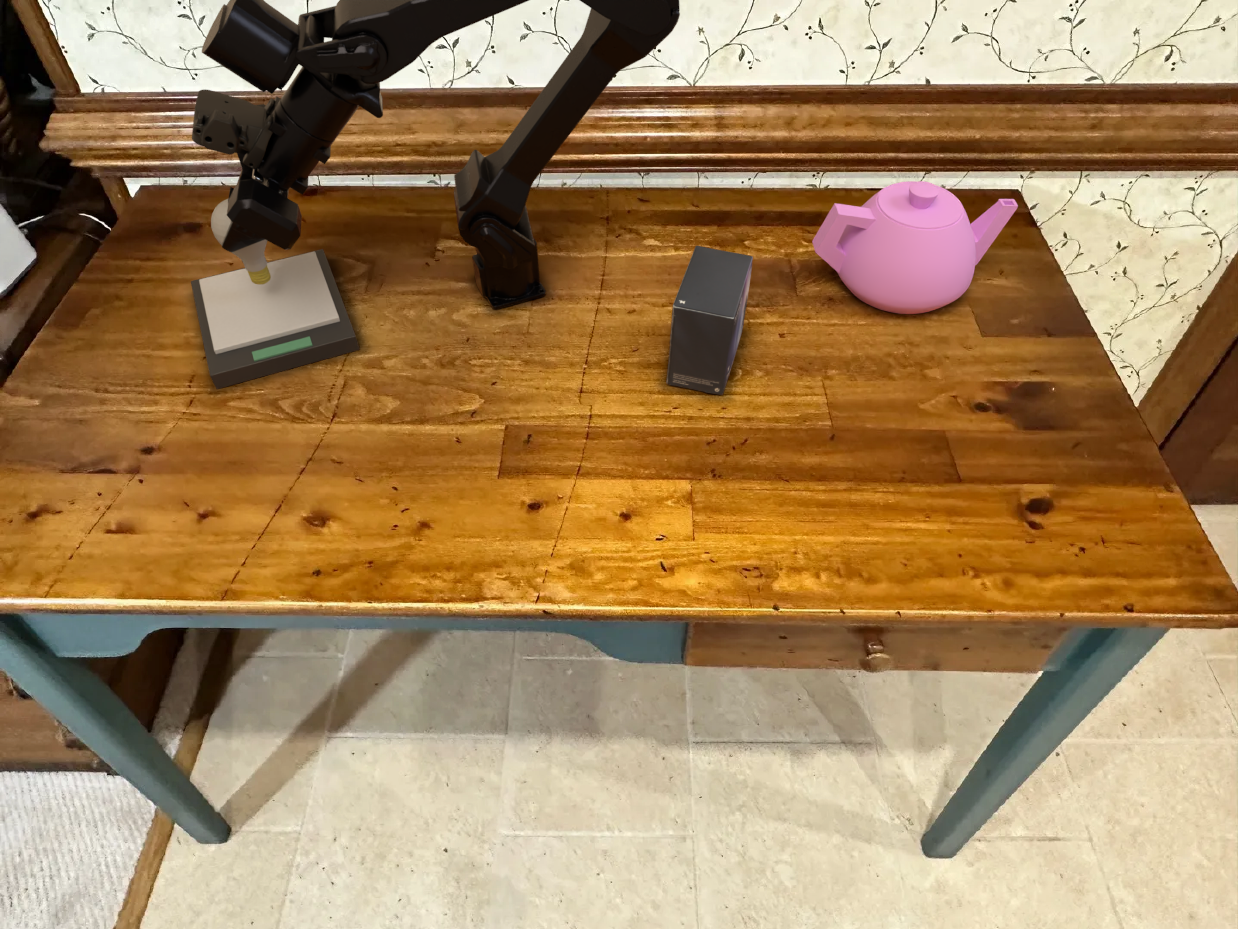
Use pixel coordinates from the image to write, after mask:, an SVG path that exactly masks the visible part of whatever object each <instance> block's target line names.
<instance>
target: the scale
mask: <svg viewBox="0 0 1238 929" xmlns="http://www.w3.org/2000/svg"><path fill="white" fill-rule="evenodd" d="M267 267H268V270H269V273H270V275H271V279H270V280H269V281H268V282H267V283H265V284H261V285H260V284H255V283H253V282H252V281H251V278H250V276H249V273H248V271H247V270H246V269H245V267H243V268H238V269H234V270H230V271H227V272H221V273H218V274H214V275H210V276H206V277H202V278H198V279H193V280H190V286H191V290H192V295H193V300H194V305H195V311H196V316H197V320H198V325H199V329H200V334H201V340H202V344H203V349H204V353H205V354H204V355H205V358H206V364H207V369H208V373H209V377H210V379H211V381H212V383H213V386H214V387H215V389H216V390H220V389H223V388H226V387H230V386H234V385H237V384H241V383H244V382H248V381H253V380H257V379H260V378H262V377H263V378H264V377H266V376H270V375H273V374H277V373H281V372H285V371H288V370H291V369H292V370H293V369H296V368H299V367H303V366H306V365H310V364H313V363H317V362H321V361H325V360H328V359H331V358H335V357H339V356H342V355H346V354H350V353H353V352H356V351H360V345H359V341H358V338H357V335H356V332H355V330H354V327H353V324H352V322H351V319H350V316H349V314H348V312H347V309H346V306H345V304H344V301H343V298H342V295H341V292H340V291H339V290H340V289H339V288H338V284H337V282H336V280H335V277H334V274H333V271H332V269H331V266H330V263H329V261H328V258H327V255H326V253H325V250H324V248H321V249H317V250H313V251H308V252H303V253H300V254H296V255H292V256H288V257H284V258H279V259H275V260H271V261H267Z"/></svg>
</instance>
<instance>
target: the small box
mask: <svg viewBox="0 0 1238 929" xmlns="http://www.w3.org/2000/svg"><path fill="white" fill-rule="evenodd" d="M689 259H690V260H689V262H688V265H687V268H686V270H685V272H684V275H683V276H682V280H681V283H680V285H679V288H678V291H677V294H676V295H675V296H676V297H675V299H674V300H673V304H672V308H671V321H670V323H671V324H670V334H669V335H670V336H669V350H668V362H667V371H666V380H665V383H666V384H667V385H669V386H672V387H678V388H684V389H688V390H689V389H690V390H694V391H699V392H703V393H706V394H707V393H708V394H711V395H717V396H723V395H724V392H725V391H726V390H725V389H726V387H727V383H728V380H729V377H730V373H731V370H732V367H733V365H734V361H735V357H736V355H737V351H738V348H739V345H740V340H741V336H742V333H743V329H744V324H745V318H746V317H745V316H746V312H747V305H748V298H749V291H750V285H751V284H750V283H751V278H752V269H753V259H754V256H753V255H749V254H745V253H744V254H743V253H738V252H733V251H727V250H722V249H717V248H711V247H706V246H702V245H695V247H694V250H693V252H692V254H691V257H690V258H689Z"/></svg>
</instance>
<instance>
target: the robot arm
mask: <svg viewBox="0 0 1238 929" xmlns="http://www.w3.org/2000/svg"><path fill="white" fill-rule="evenodd" d="M529 1H530V0H338V1H337V3H336V5H333V6H329V7H325V8H321V9H316V10H313V11H309V12H305V13H302V14H300V15H299V16H298V23H295V22H294V21H293V20H291V19H290V18H289V17H288V16H286V15H284V14H283V13H282V12H280V11H279V10H278V9H276V8H275V7H273V6H272V5H271V4H269V3H268V2H267V1H265V0H229V1H227V3H226V4H225V3H224V4H223V5H222V6H221V8H220V10H219V11H218V14H217V15H216V16H215V19H214V21H213V22H212V25H211V26H210V29H209V31H208V32H207V35H206V37H205V38H204V39H205V40H204V42H203V44H202V47H201V54H203V55H204V56H206V57H208V58H210V59H211V60H213V61H214V62H215V63H217V64H219V65H220V66H222V67H223V68H225V69H226V70H228V71H230V72H231V73H232V74H234V75H236V76H237V77H239V78H241V79H242V80H244V81H245V82H247V83H248V84H249V85H251V86H253V87H254V88H256V89H257V90H259V91H261V92H263V93H265V92H268V93H270V94H271V95H273V94H274V92H275V91H277V89H278V90H280V91H281V90H282V89H284V88H285V87H286V85H287V84H288V82H289V81H290V80H291V78H292V76H293V74H294V73H295V71H296V69H297V68H298V66H301V68H300V70H299V71H298V73H296V75H295V77H294V79H292V81H291V83H290V84H289V86H288V87H287V89H286V90H285V91H284V93H283V95H282V96H281V98H280V97H278V96H275V98H272V97H271V98H269V100H268V102H267V103H266V104H264V103H260V104H253V103H251V102H250V101H249V100H245V99H242V98H239V97H235V96H233V95H228V94H226V93H221V92H219V91H215V90H212V89H200V90H198V93H197V96H196V99H195V105H194V112H193V122H192V132H191V140H192V141H193V143H195V144H196V145H197V146H198V145H199V146H201V147H204V148H205V149H207V150H210V151H213V152H218V153H222V154H225V155H233V154H237V158H238V160H239V164H240V166H241V170H240V173H239V177H238V180H237V182H236V185H235V186H234V188H233V187H232V186H230V187H229V193H228V198H227V199H228V209H227V216H228V217H229V219H230V220H231V223H230V226H229V228H228V231H227V233H226V236H225V238H224V241H223V244H222V245H221V248H222V249H223V250H225V251H227V252H229V253H231V252H235V251H237V250H240V249H242V248H245V247H247V246H250V245H252V244H255V243H257V242H260V241H263V240H267V242H269V243H271V244H272V245H275V246H276V247H279V248H280V249H282V250H283V251H284V250H285V251H286V250H291V249H292V248H293V247H294V245H295V244H296V243H297V241H298V240H299V239H300V238H301V233H302V219H303V215H302V213H301V209H300V207H299V204H298V203H297V202H295V201H293V200H291V199H290V198H289V191H290V189H291V190H293V191H295V192H297V193H298V194H300V195H304V193H305V192H306V191H307V190H308V188H309V176H310V175H311V174H312V173H313V171H314V169H315V168H316V167H317V166H318V164H319V162H320V163H322V164H323V165H326V164H327V162H328V161H329V159H330V158H331V152H332V150H331V149H332V145H333V143H334V142H335V141H336V139H337V138H338V137H339V135H340V134H341V133H342V131H343V130H344V128H345V127H346V126H347V124H348V123H349V122H350V120H351V119H352V117H354V114H355V113H356V112H357V110H358V109H359V108H361V109H363V110H365V111H366V112H367V113H369V114H371V115H372V116H374V117H375V118H377V119H381V118H382V117H383V116H384V106H383V105H384V104H383V96H382V94H381V83H382V82H385V81H387V80H388V79H389V78H391V77H393V76H394V75H396V74H397V73H400V71H402V70H403V69H405V68H406V67H408V66H409V65H411V64H413V63H414V62H415V61H416V60H417V59H418V58H419V57H420V56H421V55H422V54H423V53H424V52H425V51H426V50H427V49H428V48H429V47H430V46H431V45H432V44H433V43H436V41H438V40H439V39H442V38H443V37H445V36H449V35H450V34H452V33H455V32H457V31H459V30H462V29H464V28H468V27H469V26H472V25H474V24H477V23H479V22H482V21H484V20H486V19H488V18H491V17H494V16H496V15H498V14H501V13H503V12H505V11H508V10H510V9H513V8H515V7H517V6H520V5H522V4H525V3H526V2H527V3H528V2H529ZM579 1H580V2H581V3H583V4H584V5H585V6H587V7H588V8H590V10H589V14H588V17H587V20H586V23H585V25H584V29H583V32H582V35H581V36H580V38H579V39H578V40H577V42H576V43H575V44H574V46H573V47H572V48H571V50H570V52H569V53H568V54H567V56H565V58H564V60H563V61H562V63H561V65H560V66H559V67H557V70H556V71H555V72H554V74H553V75H552V77H551V78H550V79H549V81H548V82H547V84H546V85H544V87H543V89H542V90H541V92H540V93H539V94H538V96H537V97H536V99H535V100H534V101H533V103H532V104H531V106H530V107H529V108H528V110H527V111H526V112H525V113H524V115H523V116H522V118H521V119H520V121H519V122H518V123H517V125H516V126H515V128H514V129H513V130H512V132H511V133H510V134H509V136H508V137H507V139H506V140H505V142H504V143H503V144H502V146H501V147H500V148H499V149H497V150H496V151H493V152H492V153H490V154H488V155H486V156H484V155H483V154H482V153H481V152H480V151H479V150H478V149H473V151H472V152H471V154H470V155H469V158H468V159H467V162H466V164H465V166H464V167H463V168H462V169H460V170H459V171H458V172H457V173H455V174H454V175H453V177H454V178H453V179H454V184H455V186H454V190H453V199H454V208H455V214H456V222H457V228H458V232H459V235H460V237H461V239H463V241H464V242H465V243H466V244H468V245H469V246H471V247H473V248H475V252H476V254H473V255H472V257H471V258H472V265H473V271H474V272H473V273H474V277H475V279H474V280H475V284H476V286H477V288H478V290H479V292H480V294H481V296H482V297H483V298H486V300H487V301H488V303H489V305H490V308H492V309H493V310H499V309H502V308H506V307H510V306H513V305H517V304H521V303H524V302H528V301H532V300H536V299H539V298H543V297H545V296H546V294H547V290H546V289H545V287H544V285H543V284H542V282H541V276H540V265H539V252H538V242H537V240H536V239H535V237H534V235H533V229H532V225H531V221H530V216H529V212H528V208H527V202H528V198H529V196H530V192H531V188H532V186H533V184H534V182H535V181H536V179H537V178H538V177H539V175H540V174H541V173H542V172H543V170H544V169H545V168H546V166H547V165H548V163H550V161H551V160H552V158H553V157H554V156H555V154H556V153H557V152H558V151H559V149H560V148H561V147H562V145H563V144H564V143H565V141H567V139H568V137H569V136H570V135H571V134H572V132H574V130H575V128H576V127H577V126H578V124H579V123H580V122H581V120H582V119H583V118H584V116H586V114H587V112H588V111H589V110H591V107H592V106H593V105H594V104H595V102H596V101H597V100H598V99H599V98H600V96H601V95H602V93H603V92H604V90H605V89H606V88H607V87H608V85H609V84H610V83H611V81H612V80H613V79H614V78H615V76H616V75H617V74H618V73H620V72H621V71H622V70H624V69H626V68H628V67H629V66H631V65H633V64H636V63H637V62H639V61H641V60H643V59H645V58H646V57H647V56H649V55H650V53H651V52H653V51H654V49H656V48H657V47H658V46H659V45H660V44H661V43H662V42H663V41H664V40H665V39H666V38H667V37H669V35H670V34H671V33H672V32H673V31H674V29H675V28H676V26H677V24H678V22H679V19H680V16H681V12H680V0H579ZM326 38H328V39H331V40H328V41H325V39H326Z"/></svg>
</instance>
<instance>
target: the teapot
mask: <svg viewBox="0 0 1238 929" xmlns="http://www.w3.org/2000/svg"><path fill="white" fill-rule="evenodd" d="M1018 207H1019V205H1018V203H1017V201H1016V200H1015V199H1014V198H998V200H997V201H996V202H995V203H994V204H993V205H992V206H990V208H987V210H986V211H985V212H983V213H982V214H981V215H980V216H978V217H977V218H976V219H975V220H973V221H972V222H971V223H970V220H969V217H968V213H967V212H966V209H965V208H964V205H963V203H962V202H961V201H960V200H959V198H958V197H957V196H956V194H955V195H954V194H953V193H952V192H951V191H949V190H948V189H946V188H944V187H942V186H939V185H936V184H934V183H933V182H930V181H924V180H919V181H918V180H917V181H914V180H913V181H909V180H907V181H900V182H896V183H891V184H889V185H887V186H885V187H883V188H881V190H879V191H877V192H876V193H875V194H873V195H872V196H871V197H870V198H869V199H868V200H867V201H866V202H864V203H863V205H861V206H856V205H850V204H844V203H836V202H834V204H833V205H832V206H831V209H830V210H829V212H828V213H827V215H826V217H825V219H824V221H823V222H822V224H821V225H820V227H819V229H818V230H817V232H816V234H815V236H814V238H813V239H812V240H811V241H812V246H813V249H814V252H815V254H817V255H818V256H819V258H821V259H822V260H823V261H824V262H826V263H827V264H828V265H829V266H830V267H831V268H832V269H833V270H835V271H836V273H837V275H838V276H839V278H840V281H842V283H843V284H844V285H845V286H846V288H847V289H848V290H849V291H850V292H851V293H852V294H853V296H854V297H856V298H857V299H858V300H860V301H861V302H863V303H865V304H866V305H869V306H870V307H872V308H876V309H878V310H880V311H884V312H888V313H893V314H899V315H900V314H903V315H916V314H917V315H918V314H924V313H928V312H933V311H935V310H938V309H941V308H943V307H945V306H947V305H950V304H951V303H953V302H955V301H956V300H959V298H961V297H962V296H963V295H964V294H965V293H966V291H967V290H968V289H969V287H970V286H971V283H972V281H973V277H974V275H975V269H976V268H975V267H976V266H977V265H978V264H979V263H980V261H981V260H982V258H983V257H984V255H985V254H986V253H987V251H988V250H989V249H990V247H991V245H993V243H994V242H995V240H996V239H997V237H998V236H999V234H1000V233H1001V232H1002V230H1003V229H1004V228H1005V226H1006V225H1007V223H1008V222H1009V221H1010V219H1011V217H1012V216H1013V215H1014V213H1015V212H1016V211H1017V209H1018Z"/></svg>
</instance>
